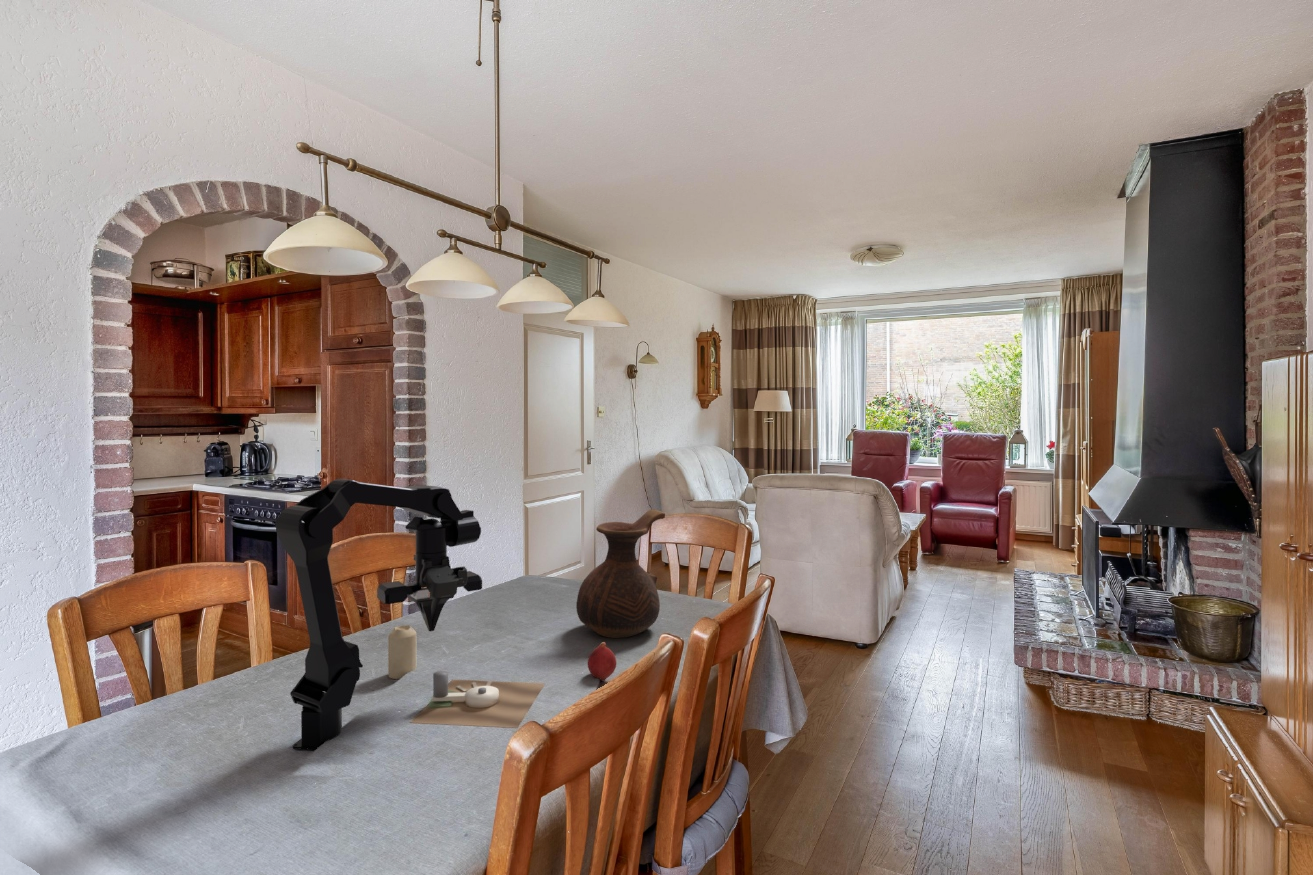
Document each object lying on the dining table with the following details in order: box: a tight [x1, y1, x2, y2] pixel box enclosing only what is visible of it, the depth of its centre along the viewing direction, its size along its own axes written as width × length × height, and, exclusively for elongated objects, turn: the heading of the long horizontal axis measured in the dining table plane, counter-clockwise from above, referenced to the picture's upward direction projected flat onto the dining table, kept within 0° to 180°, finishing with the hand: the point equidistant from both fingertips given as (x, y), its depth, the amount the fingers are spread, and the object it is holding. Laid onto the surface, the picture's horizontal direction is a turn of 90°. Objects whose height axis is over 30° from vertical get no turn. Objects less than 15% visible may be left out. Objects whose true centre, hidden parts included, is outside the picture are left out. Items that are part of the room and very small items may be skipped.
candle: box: [387, 624, 417, 680], centre depth 139 cm, size 6×6×10 cm
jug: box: [576, 509, 666, 639], centre depth 169 cm, size 22×22×30 cm
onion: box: [587, 641, 617, 682], centre depth 137 cm, size 6×6×8 cm
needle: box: [431, 670, 499, 708], centre depth 123 cm, size 12×6×5 cm, turn 96°
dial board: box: [409, 679, 546, 729], centre depth 124 cm, size 19×19×2 cm
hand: (431, 630), depth 129 cm, fingers closed
